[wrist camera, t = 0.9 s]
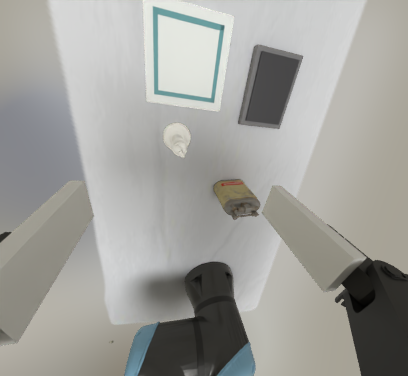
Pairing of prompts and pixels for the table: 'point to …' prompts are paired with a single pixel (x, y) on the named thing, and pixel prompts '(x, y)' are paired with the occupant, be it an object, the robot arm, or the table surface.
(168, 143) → the chess piece
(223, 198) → the lighter
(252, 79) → the ink pad
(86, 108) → the table surface
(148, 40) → the print card
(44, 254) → the robot arm
